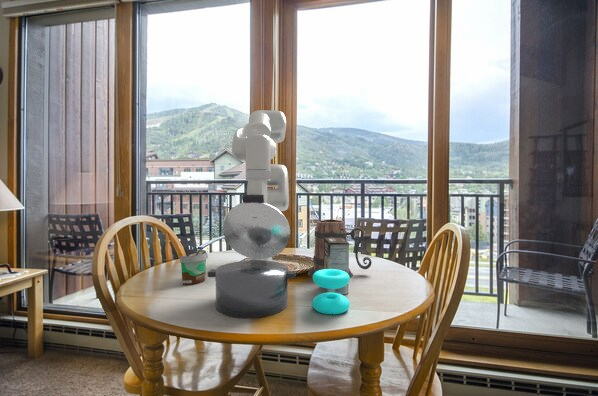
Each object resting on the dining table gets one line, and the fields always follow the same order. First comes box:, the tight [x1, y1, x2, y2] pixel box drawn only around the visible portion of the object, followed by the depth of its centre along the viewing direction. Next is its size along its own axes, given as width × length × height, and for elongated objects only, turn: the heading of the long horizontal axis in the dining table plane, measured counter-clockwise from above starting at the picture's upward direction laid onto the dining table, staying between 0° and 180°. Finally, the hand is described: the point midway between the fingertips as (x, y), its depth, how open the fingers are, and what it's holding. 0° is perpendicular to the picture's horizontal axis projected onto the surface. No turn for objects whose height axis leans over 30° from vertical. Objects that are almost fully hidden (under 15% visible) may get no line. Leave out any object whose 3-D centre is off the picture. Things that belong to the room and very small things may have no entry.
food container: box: [179, 248, 209, 286], centre depth 113 cm, size 12×6×10 cm, turn 168°
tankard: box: [307, 219, 373, 279], centre depth 123 cm, size 24×17×20 cm
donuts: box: [312, 269, 351, 315], centre depth 89 cm, size 10×10×10 cm
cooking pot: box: [207, 259, 297, 319], centre depth 93 cm, size 20×24×10 cm
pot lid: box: [222, 194, 291, 259], centre depth 99 cm, size 22×20×3 cm
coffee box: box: [324, 238, 350, 295], centre depth 105 cm, size 9×6×16 cm
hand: (258, 235), depth 101 cm, fingers closed
